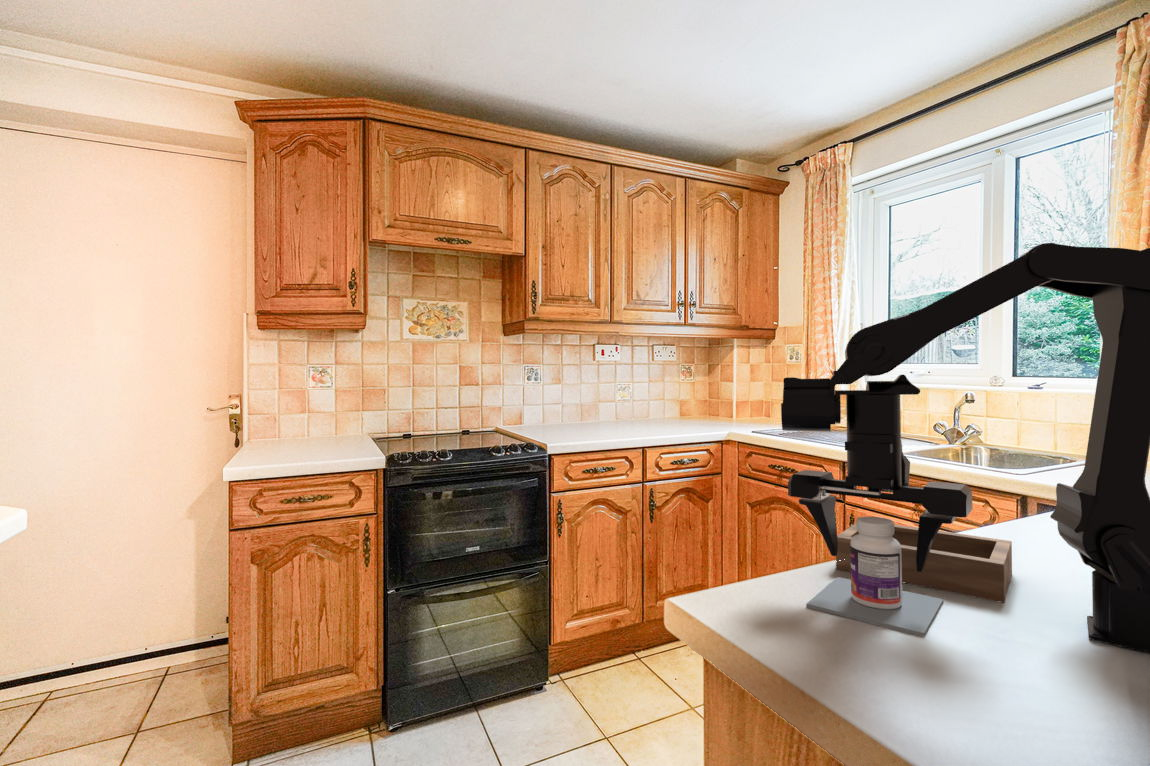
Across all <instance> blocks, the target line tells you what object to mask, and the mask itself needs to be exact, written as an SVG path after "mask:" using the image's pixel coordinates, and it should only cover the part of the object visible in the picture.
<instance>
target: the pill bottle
mask: <svg viewBox="0 0 1150 766" xmlns="http://www.w3.org/2000/svg"><path fill="white" fill-rule="evenodd" d="M855 523H856V528H857V531H858V532H859V534H858V535H855V536H854V537H853V538H852V539H851V546H850V551H851V572H850V580H851V594H852V598H853V599H854V600H855V601H856V602H858V603H859V604H862V605H864V606H868V607H872V608H877V609H896V608H898V607H900V606H901V605H902V591H903V582H902V552H901V545H900V543H899V542H898V541H897V540H896V539H894V538H892V535H894V532H895V530H894V524H895V522H894V521H893V520H892V519H890V518H885V517H880V516H879V517H878V516H860V517H857V518H856V520H855Z"/></svg>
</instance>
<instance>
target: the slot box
mask: <svg viewBox="0 0 1150 766" xmlns="http://www.w3.org/2000/svg"><path fill="white" fill-rule="evenodd" d="M894 530H895V532H894V535H892V538H894V539H896V540H897V541H898V542H899V543H900V545H901V552H902V583H903V582H905V584H908V583H909V585H913V586H919V587H924V588H928V589H934V590H939V591H943V592H948V593H953V594H957V595H962V596H967V597H973V598H979V599H981V600H982V599H983V600H989V601H993V602H999V603H1006V598H1007V594H1008V590H1009V587H1010V584H1011V580H1012V576H1013V551H1012V550H1013V549H1012V547H1013V546H1012V543H1013V542H1012V540H1007V539H998V538H993V537H987V536H977V535H973V534H972V535H971V534H964V533H957V532H951V531H943V530H939V531H938V532H937V534H936V536H935V539H934V541H933V544H932V546H931V549H930V552H929V554H928V557H927V560H926V562H925V565H924V568H923V570H922V572H917V566H916V553H917V540H918V527H914V526H907V525H901V524H900V525H899V524H895V523H894ZM858 534H859V532H858V531H857V528H856V522H855V523H854V524H852V525H850V527H847V528H846V529H845V530H843V531H842V532H841V533H839V534H837V540H838V548H837V555H836V556H835V565H836V566H835V569H836V570H839V571H844V572H849V573H851V551H850V546H851V539H852V538H853V537H854V536H855V535H858ZM844 559H845V560H844ZM839 560H841V561H839ZM836 561H837V562H836Z"/></svg>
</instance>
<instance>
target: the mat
mask: <svg viewBox="0 0 1150 766" xmlns="http://www.w3.org/2000/svg"><path fill="white" fill-rule="evenodd" d="M943 604H944V598H939V597H935V596H930V595H925V594H921V593H917V592H911V591H907V590H902V605H901V606H900V607H898V608H896V609H877V608H872V607H868V606H864V605H862V604H859V603H858V602H856V601H855V600H854V599H853V598H852V594H851V578H844V577H839V576H837V577H836V578H835V579H833V580H832V581H831V582H830V583H828V584H827V585H826V586H824V588H823V589H822V590H821V591H819V592H818V593H817V594H816V595H815V596H814V597H812V598H811V599H810V600H809V601H808V602H807V603H806V604H805V606H806V607H805V608H809V609H813V610H816V611H820V612H825V613H828V614H831V615H832V614H833V615H836V616H840V617H843V618H848V619H852V620H857V621H860V622H865V623H868V624H870V625H876V626H879V627H883V628H888V629H891V630H895V631H900V632H903V633H907V634H910V635H915V636H919V637H921V638H922V637H923V638H926V635H927V633H928V631H929V629H930V628H931V626H932V624H933V622H934V621H935V619H936V616H937V615H938V613H939V611H940V609H941V608H942V605H943Z"/></svg>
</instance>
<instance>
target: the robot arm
mask: <svg viewBox="0 0 1150 766" xmlns="http://www.w3.org/2000/svg"><path fill="white" fill-rule="evenodd" d="M1036 287H1040V288H1046V289H1049V290H1053V291H1056V292H1060V293H1063V294H1066V295H1069V296H1075V297H1078V298H1079V297H1080V298H1084V299H1085V298H1086V299H1092V305H1093V306H1092V309H1093V316H1094V320H1095V322H1096V326H1097V328H1098V329H1099V330H1098V331H1099V333H1100V336H1101V340H1102V347H1101V351H1100V352H1101V353H1100V359H1099V366H1098V373H1097V380H1096V387H1095V394H1094V400H1093V407H1092V413H1091V423H1090V427H1089V432H1088V433H1089V435H1088V441H1087V446H1086V454H1085V461H1084V466H1083V470H1082V472H1081V475H1080V476H1078V479H1076V481H1075V482H1074V484H1073V485H1067V484H1064V483H1061V482H1059V483H1056V487H1055V488H1056V489H1055V493H1056V495H1055V496H1056V497H1055V498H1056V505H1055V508H1054V510H1053V512H1052V513H1051V514H1050V519H1052V520H1054V521H1055V522H1057V531H1058V534H1059V536H1060V537H1061V539H1063V541H1065V542H1066V544H1067V545H1068V546H1070V547H1072V548H1073V549H1075V550H1077V552H1078V554H1079V556H1080V558H1081V560H1082V563H1084V564H1085V565H1086V566H1089V567H1091V568H1092V569H1093V570H1092V572H1091V583H1092V585H1091V587H1092V589H1091V590H1092V592H1091V593H1092V595H1091V596H1092V598H1091V599H1092V615H1087V616H1086V624H1087V633H1088V634H1087V635H1088V638H1089V639H1090V640H1092V641H1095V642H1100V643H1105V644H1109V645H1113V646H1114V645H1115V646H1119V647H1124V648H1128V649H1132V650H1137V651H1141V652H1144V653H1145V652H1147V653H1150V493H1149V492H1148V489H1147V485H1146V474H1147V466H1148V460H1149V454H1150V247H1147V248H1144V249H1142V250H1138V249H1131V248H1123V247H1103V246H1102V247H1099V246H1097V247H1095V246H1094V247H1093V246H1074V245H1065V244H1059V243H1054V242H1045V243H1043V242H1042V243H1041V244H1039V245H1035V246H1034V247H1032V248H1030V249H1029V250H1027V251H1026V252H1024V253H1023V254H1021V255H1020V256H1019V257H1017V258H1016V259H1014V260H1012V261H1010V262H1008V263H1006V264H1005V265H1003V266H1000V267H999V268H997V269H995V270H993V271H991V272H989V273H987V274H986V275H983V276H982V277H979V278H978V279H976V280H974V281H972V282H970V283H969V284H967V285H964V286H962V287H961V288H958V289H957V290H955V291H953V292H951V293H950V294H948V295H945V296H943V297H942V298H940V299H937V300H936V301H934V302H932V303H930V304H929V305H928V304H927V306H924V307H923V308H921V309H918V310H915V311H912V312H910V313H906V314H902V315H899V316H897V317H892V318H890V319H887V320H884V321H882V322H881V321H880V322H878V323H876V324H873V325H869V326H866V327H864V328H862V329H859V330H858V331H857V332H855V333H854V334H853V335H852V337H851V338H849V339H850V340H849V341H848V342H847V344H846V346H845V347H846V348H845V350H844V357H845V360H844V361H843V362H842V364H841V365H840V366H839V368H838V369H837V370H832V376H831V377H830V378H799V377H792V376H791V377H790V376H789V377H784V378H783V387H782V389H783V390H782V392H783V393H782V402H781V404H780V411H781V413H780V415H781V430H782V431H787V432H788V431H790V432H791V431H792V432H795V431H796V432H831V430H832V429H831V427H832V426H833V425H836V424H838V425H839V424H841V423H842V422H841V420H842V418H841V417H842V416H841V415H842V414H841V396H845V395H846V396H845V399H846V400H845V402H846V405H845V407H846V408H845V409H846V441H844V451H846V470H847V473H846V476H845V479H836V478H835V477H834V475H833V471H823V470H813V469H812V470H811V469H804V470H801V471H798V472H796V473H793V474H791V475H790V477H789V478H788V482H787V496H789V497H792V498H799V499H798V504H799V505H802V506H805V507H806V509H807V510H808V511H809V513H810V515H811V516H812V518H813V520H814V521H815V523H816V525H817V527H818V529H819V531H820V533H821V535H822V538H823V540H824V542H825V544H826V547H827V549H828V551H829V553H830V555H831V556H832V557H836V555H837V548H838V540H837V536H838V531H837V530H838V529H837V522H836V520H837V519H836V503H837V495H839V496H841V495H842V496H847V497H848V496H849V497H857V498H867V499H873V500H874V499H875V500H884V501H892V502H901V503H909V504H910V503H911V504H919V505H921V506H922V507H923V509H925V510H924V511H923V512H922V513H921V514H920V515H918V516H919V517H918V527H917V528H918V540H917V553H916V566H917V572H922V570H923V568H924V565H925V562H926V560H927V557H928V554H929V552H930V549H931V546H932V544H933V541H934V539H935V536H936V534H937V532H938V531H940V529H941V527H942V526H943V524H947V525H951V524H953V523H954V521H955V520H956V518H967V517H968V516H969V514H970V513H971V512H972V510H973V492H972V489H971V488H970V487H969V486H968V485H967V484H963V483H956V482H955V483H954V482H953V483H952V482H942V481H932V480H931V481H929V482H927V483H926V484H925V485H924V486H923V487H919V486H910V472H911V471H910V469H911V461H910V460H909V459H908V457H906V455H904V453H903V444H902V428H901V426H902V425H901V424H902V423H901V420H902V419H901V416H902V415H901V395H902V396H903V395H904V396H905V395H906V396H907V395H910V396H911V395H912V396H913V395H915V396H916V395H919V394H920V393H921V390H920V388H919V387H918V386H916V385H914V384H913V383H912V382H911V381H910V380H909V379H908V378H907V376H906V375H905V374H899V375H898V376H897V377H896V378H895V379H893V380H874V381H873V380H868V381H866V385H865V387H866V388H865V389H853V390H852V389H851V390H849V389H847V390H846V389H845V390H844V389H843V390H842V389H841V390H837V389H836V385H851V384H853V383H855V382H856V381H858V380H860V379H861V378H863V377H875V376H876V377H877V376H881V375H884V374H888V373H889V372H891V371H894V370H895V368H897V367H898V366H900V365H902V364H903V363H904V362H905V361H907V360H908V359H909V358H911V357H912V356H913V355H915V354H916V353H917V352H919V351H921V350H922V349H923V348H924V347H925V346H927V345H928V344H929V343H931V342H932V341H934V340H935V339H936V338H938V337H939V336H941V335H943V334H945V333H948V332H949V331H951V330H953V329H955V328H957V327H959V326H960V325H963V324H965V323H967V322H969V321H971V320H973V319H974V318H975V319H976V318H977V317H979V316H980V315H983V314H985V313H987V312H988V311H991V310H993V309H994V308H997V307H998V306H1000V305H1003V304H1004V303H1006V302H1008V301H1011V300H1012V299H1014V298H1016V297H1018V296H1020V295H1022V294H1024V293H1027V292H1028V291H1030V290H1032V289H1034V288H1036ZM857 487H862V488H863V487H865V488H866V489H860V488H857ZM831 494H832V495H831Z"/></svg>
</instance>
